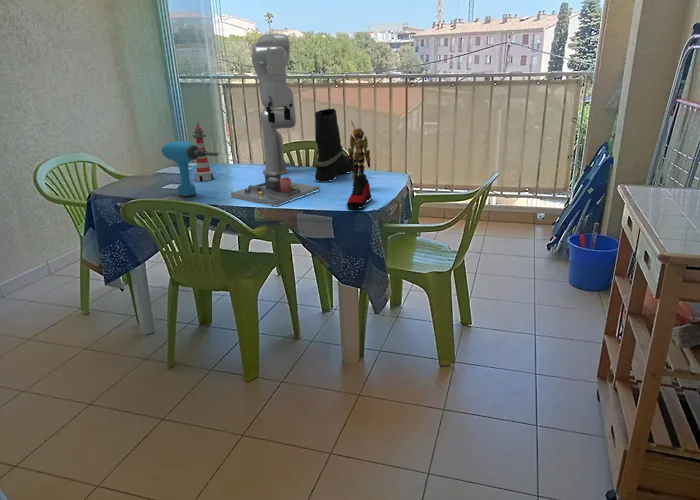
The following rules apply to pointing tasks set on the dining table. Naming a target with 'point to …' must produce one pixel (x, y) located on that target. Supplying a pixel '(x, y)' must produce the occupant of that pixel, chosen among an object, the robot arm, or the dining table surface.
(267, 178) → the dark grey cube
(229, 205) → the dining table surface
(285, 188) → the lockout cap
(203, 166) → the miniature lighthouse
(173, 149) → the power drill
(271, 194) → the panel
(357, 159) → the figurine
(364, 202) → the athletic shoe
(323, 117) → the boot
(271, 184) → the grey cube
